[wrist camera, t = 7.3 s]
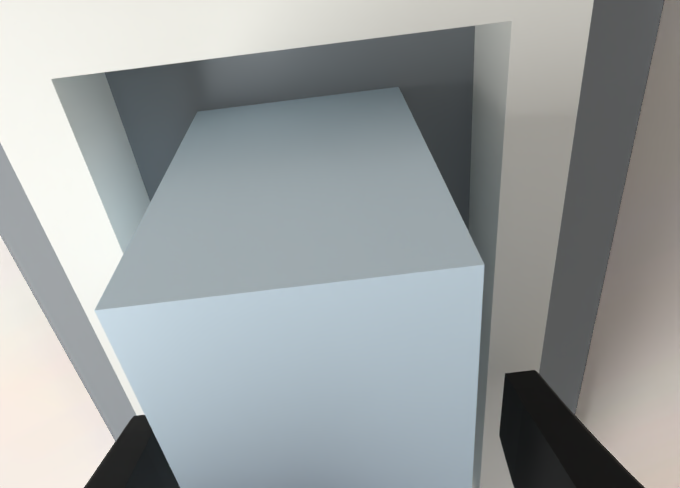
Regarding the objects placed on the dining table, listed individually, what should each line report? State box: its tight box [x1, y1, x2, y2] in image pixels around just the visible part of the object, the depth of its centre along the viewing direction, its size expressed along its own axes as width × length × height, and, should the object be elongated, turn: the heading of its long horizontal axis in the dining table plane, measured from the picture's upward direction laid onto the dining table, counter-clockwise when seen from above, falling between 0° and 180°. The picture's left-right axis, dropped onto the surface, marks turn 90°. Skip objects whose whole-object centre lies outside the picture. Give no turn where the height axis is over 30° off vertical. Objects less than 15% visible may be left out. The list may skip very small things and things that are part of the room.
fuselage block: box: [94, 87, 484, 488], centre depth 11 cm, size 12×4×6 cm, turn 6°
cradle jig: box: [0, 0, 664, 488], centre depth 13 cm, size 20×14×3 cm
